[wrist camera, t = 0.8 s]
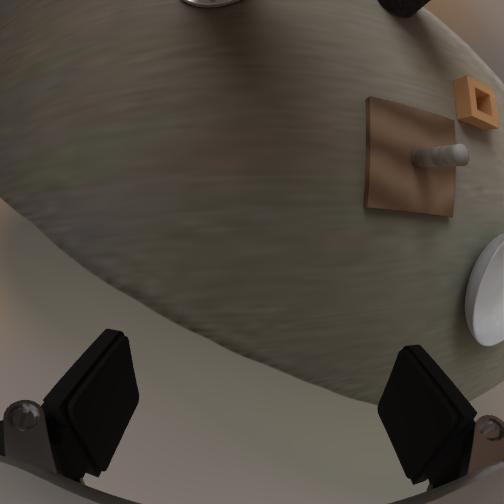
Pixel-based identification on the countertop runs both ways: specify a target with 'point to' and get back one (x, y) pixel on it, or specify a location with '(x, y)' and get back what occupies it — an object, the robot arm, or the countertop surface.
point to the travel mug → (403, 6)
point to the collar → (475, 103)
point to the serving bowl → (487, 295)
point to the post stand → (410, 159)
